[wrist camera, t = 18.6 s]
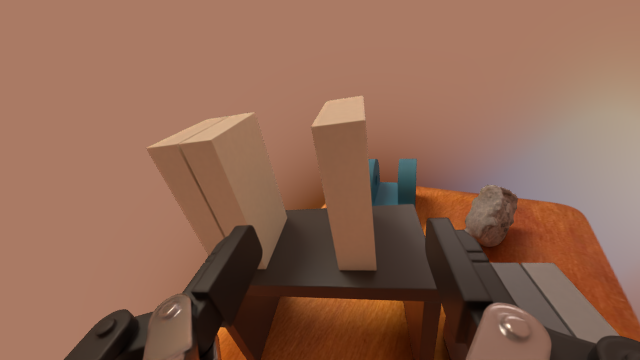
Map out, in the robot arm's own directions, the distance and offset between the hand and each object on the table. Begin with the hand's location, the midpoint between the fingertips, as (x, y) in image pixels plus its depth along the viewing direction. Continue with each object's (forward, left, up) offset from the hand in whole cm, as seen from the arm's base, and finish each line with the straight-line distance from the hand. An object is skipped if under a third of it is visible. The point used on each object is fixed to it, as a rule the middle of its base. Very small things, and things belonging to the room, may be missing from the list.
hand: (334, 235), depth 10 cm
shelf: (+5, +7, -23) cm, 25 cm away
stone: (+29, -6, -23) cm, 38 cm away
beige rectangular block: (+7, +4, -8) cm, 11 cm away
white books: (+2, +13, -8) cm, 15 cm away
